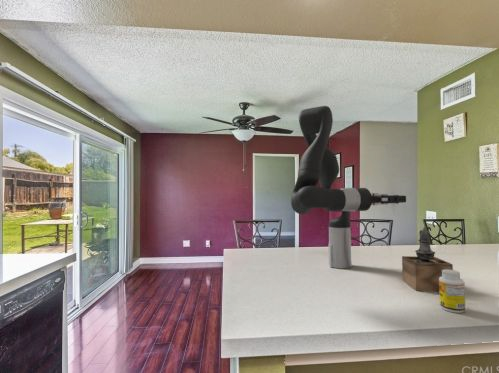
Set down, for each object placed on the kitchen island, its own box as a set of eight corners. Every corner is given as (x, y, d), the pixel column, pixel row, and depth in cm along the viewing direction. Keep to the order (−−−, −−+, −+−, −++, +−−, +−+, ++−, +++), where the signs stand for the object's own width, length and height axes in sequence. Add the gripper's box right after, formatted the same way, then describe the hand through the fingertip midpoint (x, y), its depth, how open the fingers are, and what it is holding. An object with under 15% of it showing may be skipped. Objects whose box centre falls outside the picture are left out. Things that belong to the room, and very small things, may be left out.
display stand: (416, 291, 89) (415, 263, 90) (402, 280, 100) (401, 256, 100) (453, 292, 88) (452, 264, 88) (435, 281, 98) (434, 256, 99)
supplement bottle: (441, 303, 78) (439, 267, 79) (466, 308, 75) (464, 270, 75) (438, 310, 74) (437, 271, 75) (465, 315, 71) (463, 275, 71)
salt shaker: (439, 264, 91) (437, 228, 91) (419, 264, 92) (418, 227, 92) (431, 260, 96) (429, 226, 97) (412, 260, 98) (411, 226, 98)
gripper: (366, 187, 82) (412, 186, 86) (340, 188, 96) (380, 188, 100) (366, 212, 82) (412, 211, 86) (340, 210, 96) (381, 209, 100)
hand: (395, 198), depth 93 cm, fingers open, 8 cm apart
